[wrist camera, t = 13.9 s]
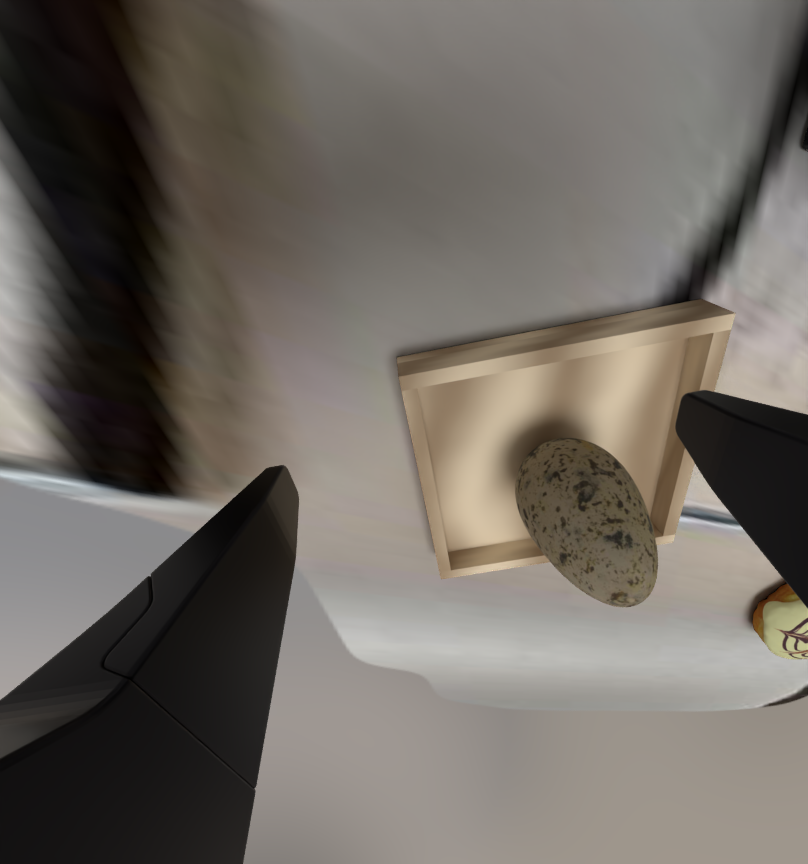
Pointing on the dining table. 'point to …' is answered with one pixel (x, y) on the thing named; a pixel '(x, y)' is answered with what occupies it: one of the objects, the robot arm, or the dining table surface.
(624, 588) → the decorative egg
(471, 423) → the wooden tray
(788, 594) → the decorated donut
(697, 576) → the dining table surface
